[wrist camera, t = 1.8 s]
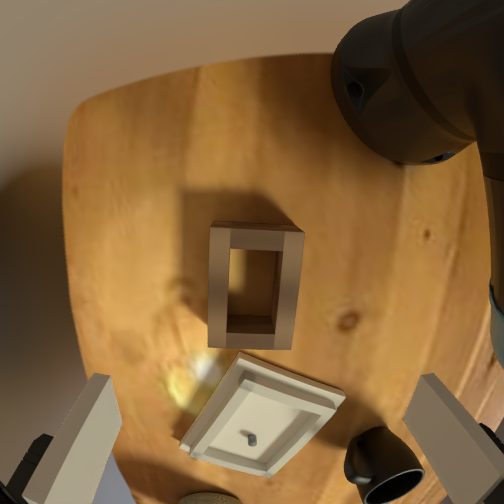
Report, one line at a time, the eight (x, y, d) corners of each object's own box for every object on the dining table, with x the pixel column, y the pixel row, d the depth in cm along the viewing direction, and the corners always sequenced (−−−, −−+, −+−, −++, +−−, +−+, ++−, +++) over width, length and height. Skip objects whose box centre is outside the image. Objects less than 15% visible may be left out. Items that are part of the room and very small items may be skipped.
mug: (357, 403, 31) (385, 460, 22) (408, 427, 33) (435, 472, 24) (311, 443, 33) (326, 501, 23) (367, 462, 35) (386, 508, 25)
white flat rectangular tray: (239, 351, 29) (239, 366, 26) (343, 390, 31) (350, 405, 28) (180, 441, 31) (177, 456, 29) (270, 468, 33) (272, 483, 31)
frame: (213, 221, 26) (210, 227, 22) (296, 225, 26) (304, 232, 23) (210, 328, 28) (207, 347, 24) (285, 330, 28) (290, 349, 25)
